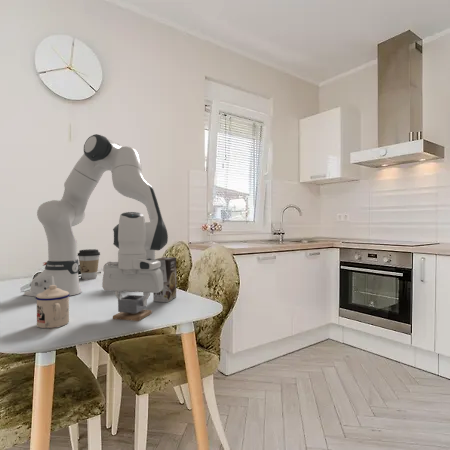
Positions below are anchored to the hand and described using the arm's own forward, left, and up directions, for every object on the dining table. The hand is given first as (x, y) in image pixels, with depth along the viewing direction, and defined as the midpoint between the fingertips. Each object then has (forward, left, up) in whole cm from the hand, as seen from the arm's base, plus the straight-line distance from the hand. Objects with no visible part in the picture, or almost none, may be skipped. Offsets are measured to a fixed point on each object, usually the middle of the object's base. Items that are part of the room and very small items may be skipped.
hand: (132, 305), depth 112 cm
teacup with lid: (-18, -14, -4) cm, 23 cm away
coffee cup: (-57, +59, -4) cm, 82 cm away
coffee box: (+1, +24, -4) cm, 24 cm away
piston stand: (0, 0, -4) cm, 4 cm away
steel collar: (0, 0, -2) cm, 2 cm away
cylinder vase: (-23, +52, -4) cm, 57 cm away
